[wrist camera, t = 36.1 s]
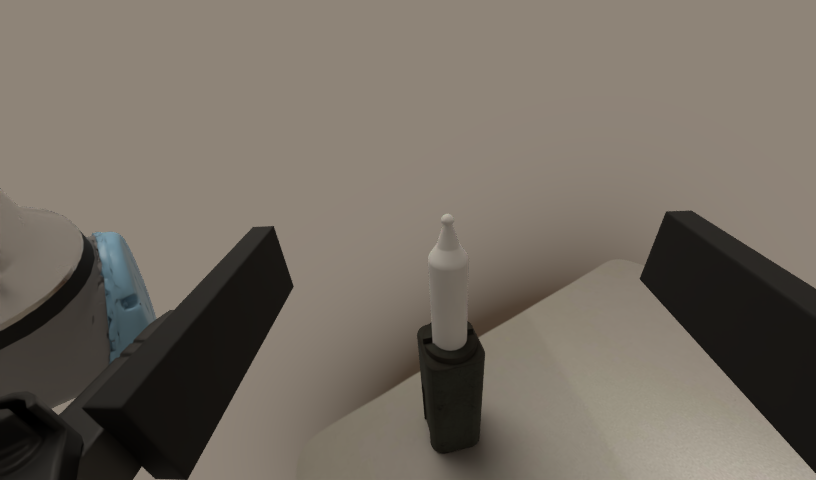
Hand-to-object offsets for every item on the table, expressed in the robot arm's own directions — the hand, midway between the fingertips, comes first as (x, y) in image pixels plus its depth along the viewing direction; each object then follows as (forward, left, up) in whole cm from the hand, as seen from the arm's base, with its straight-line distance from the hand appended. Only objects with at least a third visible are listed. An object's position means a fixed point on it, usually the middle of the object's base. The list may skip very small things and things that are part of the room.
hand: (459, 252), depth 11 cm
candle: (0, +10, -28) cm, 30 cm away
